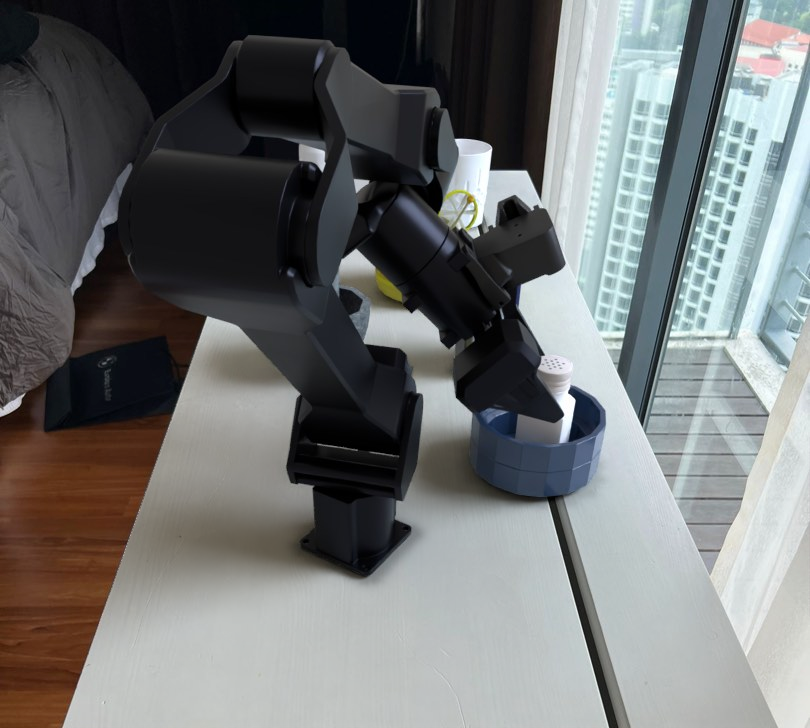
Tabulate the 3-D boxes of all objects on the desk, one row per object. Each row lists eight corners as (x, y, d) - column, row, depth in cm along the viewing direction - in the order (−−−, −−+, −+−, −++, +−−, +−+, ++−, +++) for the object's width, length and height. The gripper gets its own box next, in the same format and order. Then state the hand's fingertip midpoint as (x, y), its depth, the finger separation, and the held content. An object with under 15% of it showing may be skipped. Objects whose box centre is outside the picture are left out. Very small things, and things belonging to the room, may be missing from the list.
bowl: (564, 518, 68) (574, 462, 64) (446, 475, 72) (449, 420, 69) (613, 454, 75) (625, 400, 72) (503, 418, 80) (509, 366, 76)
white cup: (424, 226, 118) (427, 151, 112) (439, 209, 124) (442, 136, 118) (479, 233, 117) (485, 157, 110) (491, 215, 123) (497, 142, 116)
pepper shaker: (523, 445, 75) (536, 348, 69) (567, 456, 74) (583, 358, 68) (509, 469, 72) (521, 369, 66) (555, 480, 71) (571, 380, 65)
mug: (361, 303, 99) (359, 198, 91) (392, 269, 107) (393, 169, 99) (466, 320, 96) (474, 213, 88) (490, 283, 104) (499, 182, 96)
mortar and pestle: (361, 393, 83) (360, 274, 75) (268, 386, 83) (256, 268, 76) (376, 341, 91) (376, 230, 84) (291, 335, 92) (283, 224, 84)
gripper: (523, 222, 51) (664, 385, 58) (490, 136, 65) (607, 275, 72) (391, 341, 56) (537, 477, 63) (388, 237, 70) (507, 358, 77)
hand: (550, 388), depth 69 cm, fingers open, 9 cm apart
